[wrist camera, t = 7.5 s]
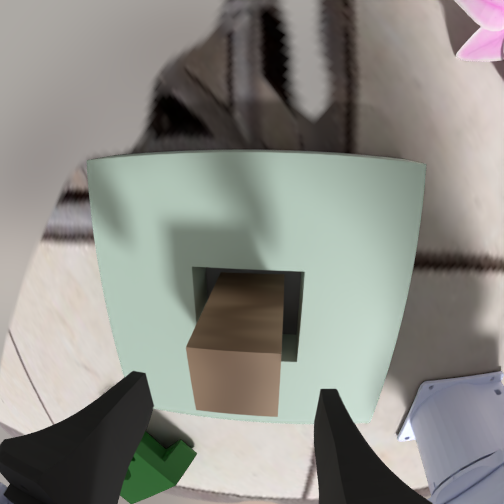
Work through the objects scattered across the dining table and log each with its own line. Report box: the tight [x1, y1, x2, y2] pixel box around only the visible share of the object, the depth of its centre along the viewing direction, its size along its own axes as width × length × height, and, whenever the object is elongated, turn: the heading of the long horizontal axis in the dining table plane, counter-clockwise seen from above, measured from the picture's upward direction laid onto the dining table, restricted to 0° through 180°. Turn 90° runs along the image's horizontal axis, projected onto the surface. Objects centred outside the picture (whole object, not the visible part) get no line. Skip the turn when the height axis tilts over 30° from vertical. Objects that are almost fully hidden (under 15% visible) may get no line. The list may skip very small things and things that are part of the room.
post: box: [186, 272, 285, 417], centre depth 17 cm, size 4×4×8 cm
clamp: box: [120, 431, 197, 504], centre depth 27 cm, size 12×6×9 cm, turn 136°
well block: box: [87, 149, 426, 424], centre depth 20 cm, size 18×18×4 cm
